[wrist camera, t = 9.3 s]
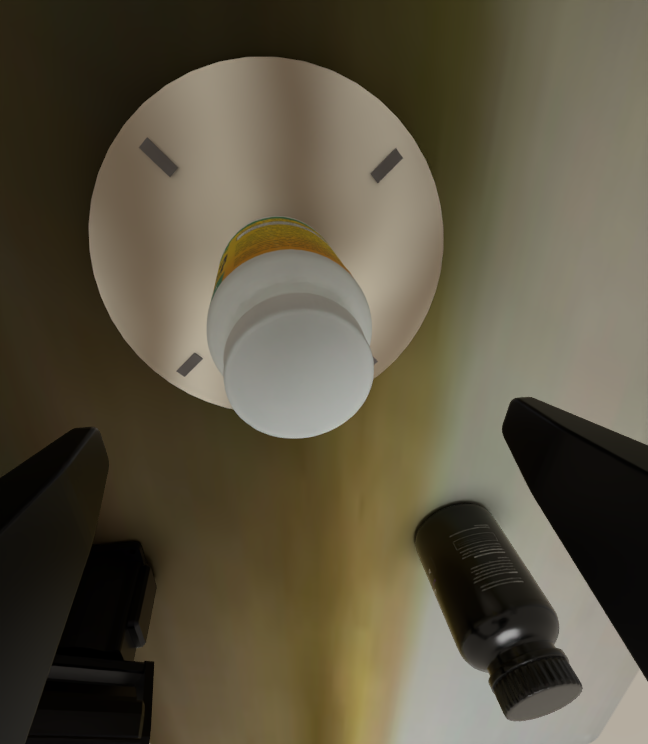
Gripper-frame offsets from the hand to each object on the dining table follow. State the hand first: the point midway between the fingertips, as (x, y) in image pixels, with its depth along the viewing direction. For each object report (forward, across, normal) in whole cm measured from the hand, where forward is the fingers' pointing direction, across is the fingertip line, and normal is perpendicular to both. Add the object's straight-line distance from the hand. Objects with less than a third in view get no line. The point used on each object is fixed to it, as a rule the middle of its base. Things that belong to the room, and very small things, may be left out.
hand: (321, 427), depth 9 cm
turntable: (+13, 0, 0) cm, 13 cm away
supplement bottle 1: (+12, 0, 0) cm, 12 cm away
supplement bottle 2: (+13, -14, +22) cm, 29 cm away
